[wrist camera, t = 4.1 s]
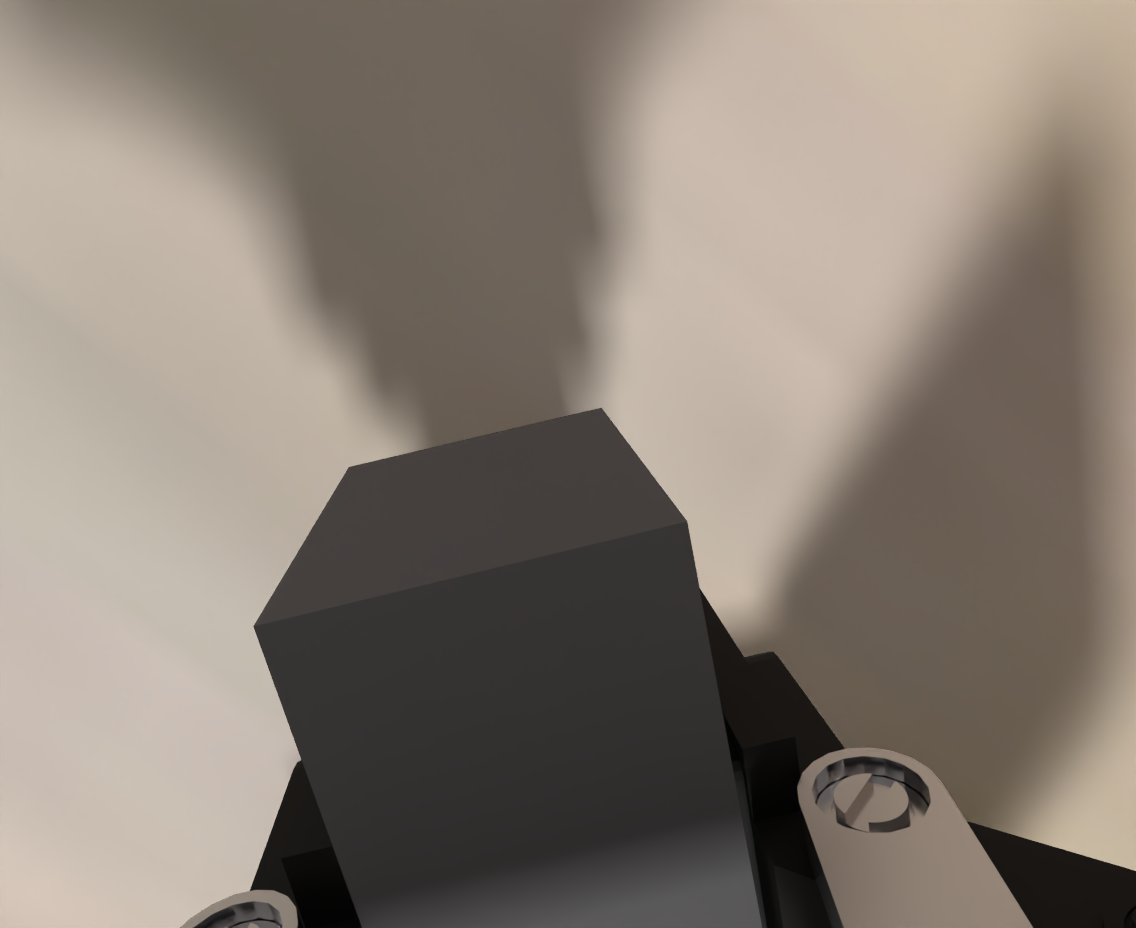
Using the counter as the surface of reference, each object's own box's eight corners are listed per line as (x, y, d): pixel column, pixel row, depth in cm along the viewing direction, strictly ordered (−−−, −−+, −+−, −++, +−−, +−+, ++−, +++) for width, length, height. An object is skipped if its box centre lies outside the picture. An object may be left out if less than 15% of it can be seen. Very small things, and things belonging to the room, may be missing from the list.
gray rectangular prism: (349, 467, 10) (253, 626, 6) (601, 408, 11) (686, 520, 6) (493, 941, 13) (500, 1311, 8) (700, 886, 13) (815, 1221, 8)
